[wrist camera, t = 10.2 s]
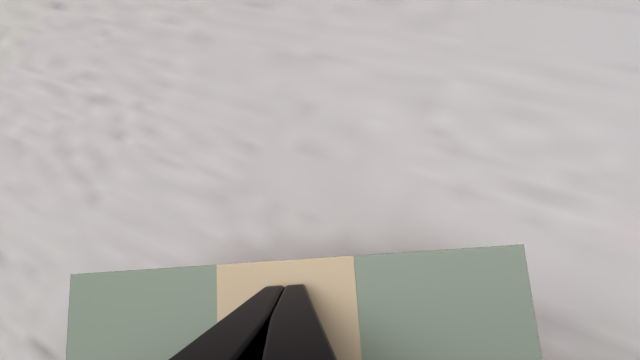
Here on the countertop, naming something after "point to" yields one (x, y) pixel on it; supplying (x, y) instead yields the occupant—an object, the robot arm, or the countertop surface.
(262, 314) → the robot arm
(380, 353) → the box lid
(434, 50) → the countertop surface
